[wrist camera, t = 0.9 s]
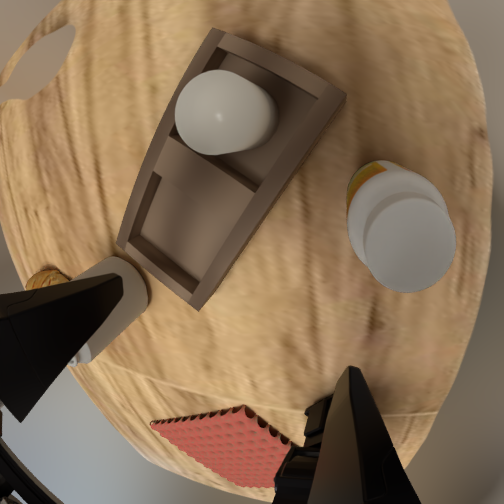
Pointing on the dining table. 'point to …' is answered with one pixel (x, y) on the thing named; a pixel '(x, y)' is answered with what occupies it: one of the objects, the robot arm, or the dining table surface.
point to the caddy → (221, 173)
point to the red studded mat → (229, 446)
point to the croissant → (45, 279)
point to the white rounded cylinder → (225, 113)
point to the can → (122, 313)
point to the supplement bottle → (399, 226)
